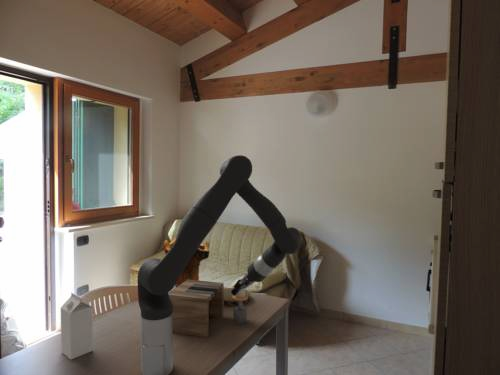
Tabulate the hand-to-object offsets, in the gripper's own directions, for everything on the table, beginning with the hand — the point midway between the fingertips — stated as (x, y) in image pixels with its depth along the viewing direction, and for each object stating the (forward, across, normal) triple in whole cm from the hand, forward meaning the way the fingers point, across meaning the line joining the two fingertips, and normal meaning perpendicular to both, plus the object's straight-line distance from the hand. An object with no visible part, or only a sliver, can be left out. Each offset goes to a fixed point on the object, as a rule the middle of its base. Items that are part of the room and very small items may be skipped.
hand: (236, 291), depth 136 cm
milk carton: (+28, +49, -12) cm, 58 cm away
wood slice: (+19, -17, -2) cm, 25 cm away
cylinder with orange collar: (+7, 0, +10) cm, 12 cm away
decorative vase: (+33, -7, -16) cm, 37 cm away
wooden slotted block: (+16, +11, 0) cm, 19 cm away
